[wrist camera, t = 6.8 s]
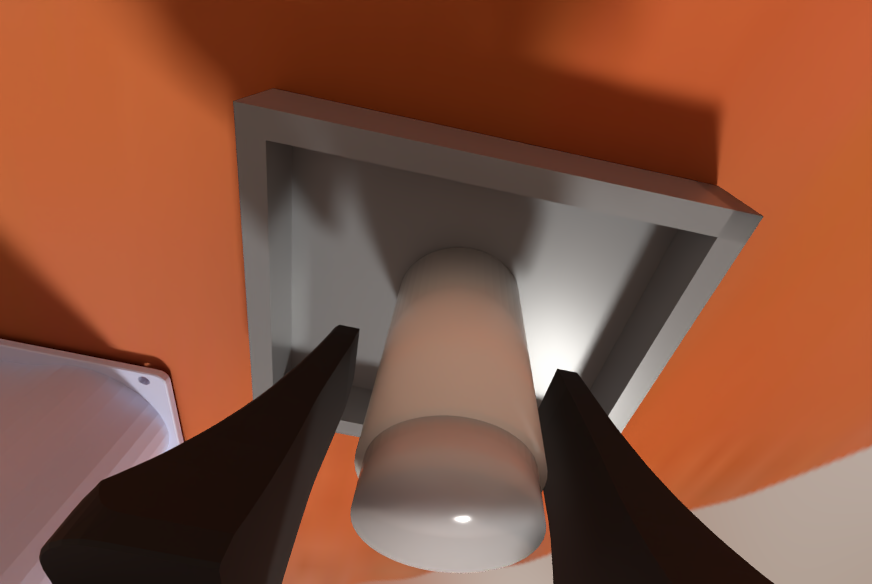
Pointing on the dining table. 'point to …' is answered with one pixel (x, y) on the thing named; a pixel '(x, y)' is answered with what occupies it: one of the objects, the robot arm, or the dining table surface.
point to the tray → (468, 242)
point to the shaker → (453, 424)
